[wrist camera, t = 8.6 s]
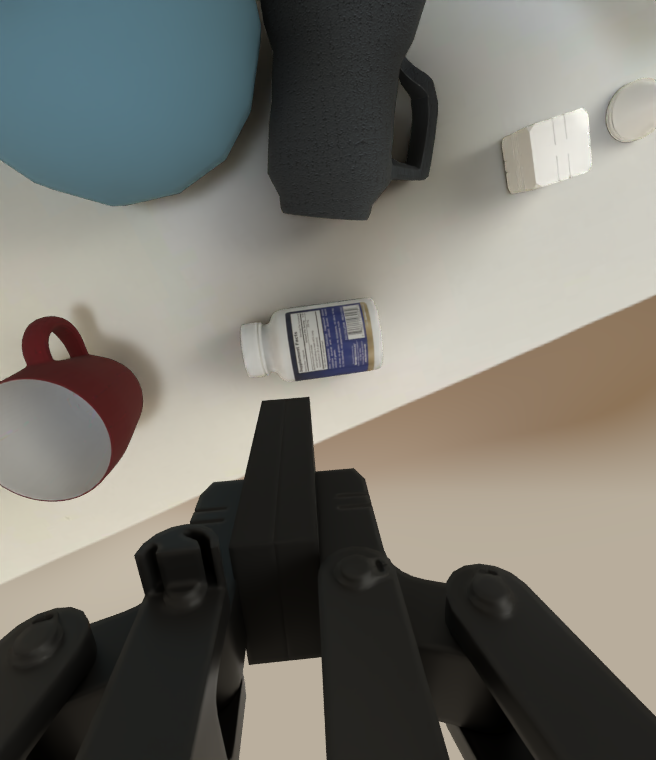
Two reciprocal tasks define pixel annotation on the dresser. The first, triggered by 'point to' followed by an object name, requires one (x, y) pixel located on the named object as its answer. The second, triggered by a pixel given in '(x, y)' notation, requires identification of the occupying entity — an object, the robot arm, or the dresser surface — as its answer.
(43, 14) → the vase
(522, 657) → the robot arm
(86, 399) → the mug
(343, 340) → the pill bottle
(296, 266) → the dresser surface
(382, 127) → the mug
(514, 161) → the decorative object set
